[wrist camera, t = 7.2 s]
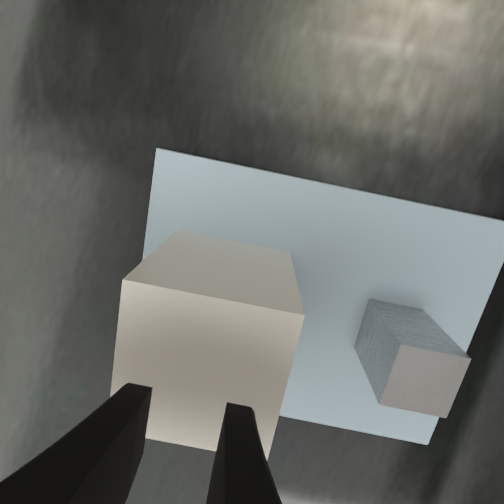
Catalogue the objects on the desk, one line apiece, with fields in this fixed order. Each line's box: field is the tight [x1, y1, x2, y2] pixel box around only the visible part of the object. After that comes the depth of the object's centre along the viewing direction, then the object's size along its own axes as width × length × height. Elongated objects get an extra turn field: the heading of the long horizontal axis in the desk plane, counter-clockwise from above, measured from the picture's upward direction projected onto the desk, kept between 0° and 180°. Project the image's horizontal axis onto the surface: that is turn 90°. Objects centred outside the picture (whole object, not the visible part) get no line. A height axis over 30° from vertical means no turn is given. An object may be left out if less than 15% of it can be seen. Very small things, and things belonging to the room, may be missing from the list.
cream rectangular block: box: [110, 230, 305, 460], centre depth 14 cm, size 5×5×7 cm
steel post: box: [354, 298, 471, 418], centre depth 16 cm, size 3×3×5 cm
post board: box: [142, 148, 504, 445], centre depth 18 cm, size 16×12×1 cm
